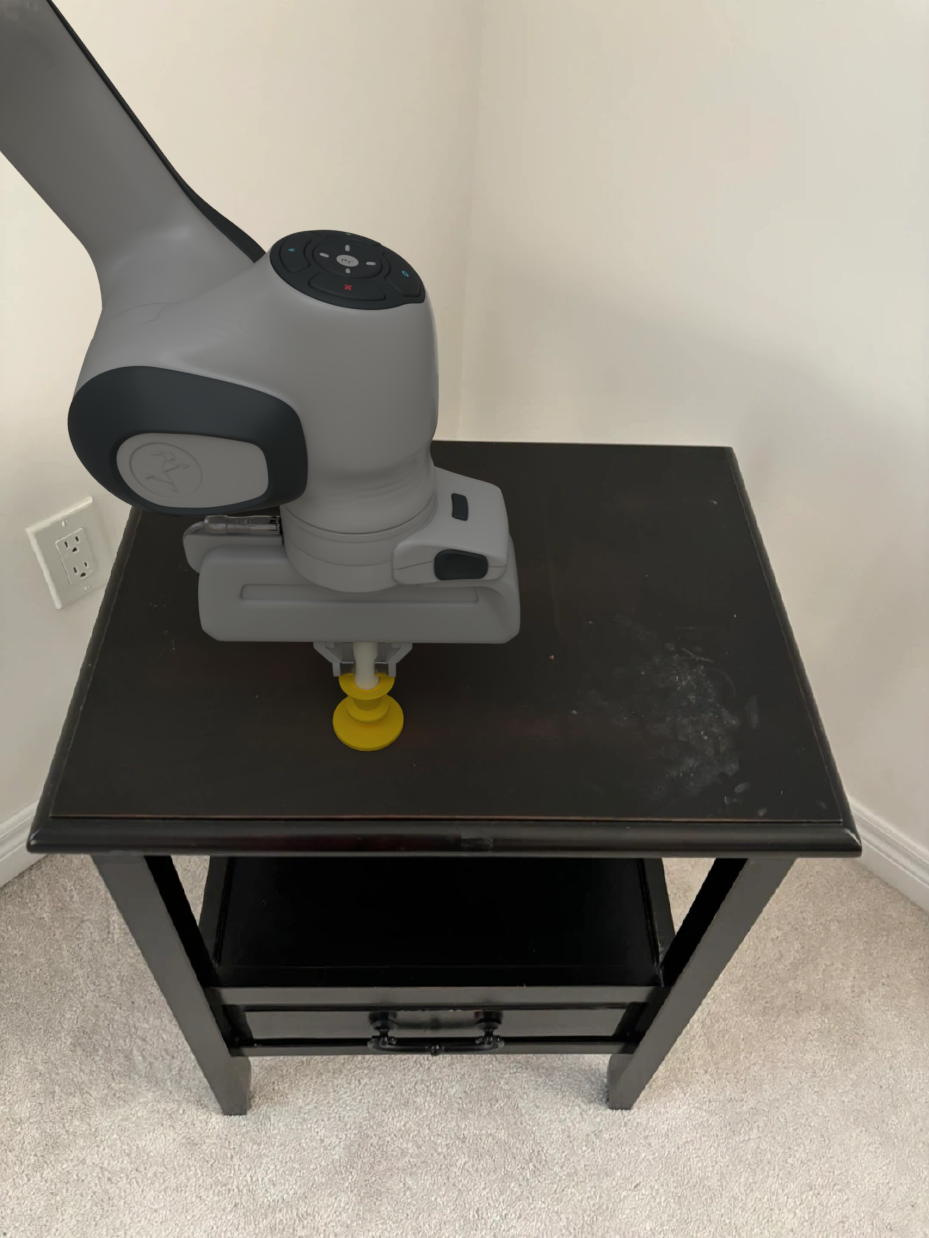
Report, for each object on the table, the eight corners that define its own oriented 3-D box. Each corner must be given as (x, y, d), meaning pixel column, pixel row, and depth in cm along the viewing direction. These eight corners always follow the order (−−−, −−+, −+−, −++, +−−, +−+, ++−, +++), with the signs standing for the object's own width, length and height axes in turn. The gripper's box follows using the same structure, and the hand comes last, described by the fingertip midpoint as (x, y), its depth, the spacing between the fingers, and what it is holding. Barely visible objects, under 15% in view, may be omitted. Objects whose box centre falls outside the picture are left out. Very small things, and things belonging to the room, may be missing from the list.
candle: (356, 763, 67) (348, 618, 55) (319, 714, 69) (305, 565, 58) (417, 730, 69) (421, 584, 57) (379, 684, 71) (376, 535, 60)
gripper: (167, 555, 51) (206, 705, 62) (535, 560, 53) (513, 706, 63) (186, 481, 56) (219, 633, 66) (526, 487, 57) (507, 636, 67)
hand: (365, 669), depth 64 cm, fingers closed
